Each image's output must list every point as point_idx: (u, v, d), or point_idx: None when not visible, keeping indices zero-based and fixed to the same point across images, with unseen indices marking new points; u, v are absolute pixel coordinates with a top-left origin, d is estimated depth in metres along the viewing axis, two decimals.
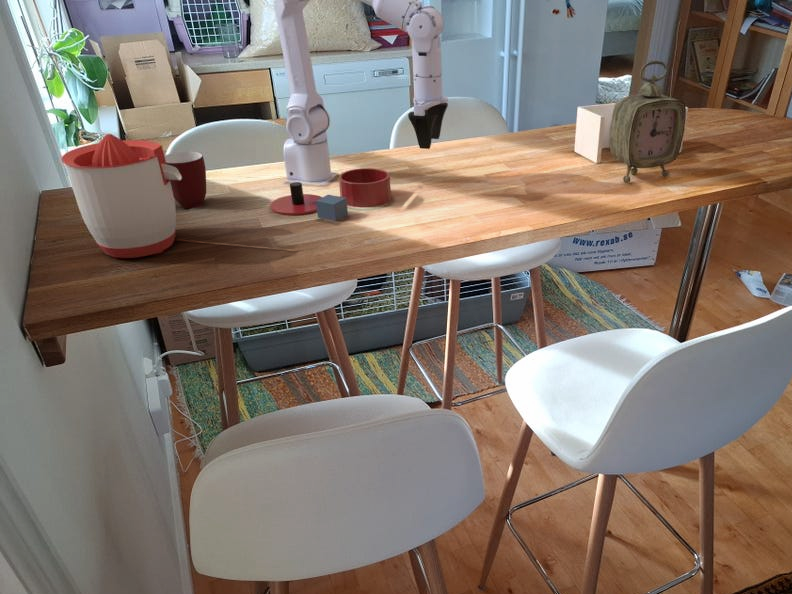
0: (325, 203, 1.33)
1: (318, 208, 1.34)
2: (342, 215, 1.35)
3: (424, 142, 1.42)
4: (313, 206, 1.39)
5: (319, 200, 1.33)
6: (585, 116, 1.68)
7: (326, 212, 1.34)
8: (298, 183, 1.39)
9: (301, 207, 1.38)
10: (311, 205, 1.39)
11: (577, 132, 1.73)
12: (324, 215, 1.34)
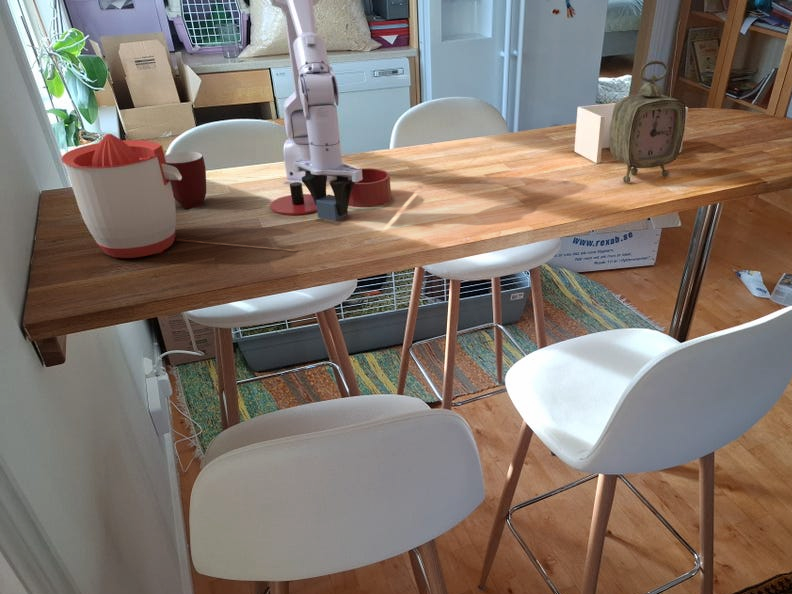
0: (326, 203, 1.33)
1: (318, 208, 1.34)
2: (342, 215, 1.35)
3: None
4: (313, 206, 1.39)
5: (319, 200, 1.33)
6: (585, 116, 1.68)
7: (326, 212, 1.34)
8: (298, 183, 1.39)
9: (301, 207, 1.38)
10: (311, 205, 1.39)
11: (577, 132, 1.73)
12: (324, 215, 1.34)
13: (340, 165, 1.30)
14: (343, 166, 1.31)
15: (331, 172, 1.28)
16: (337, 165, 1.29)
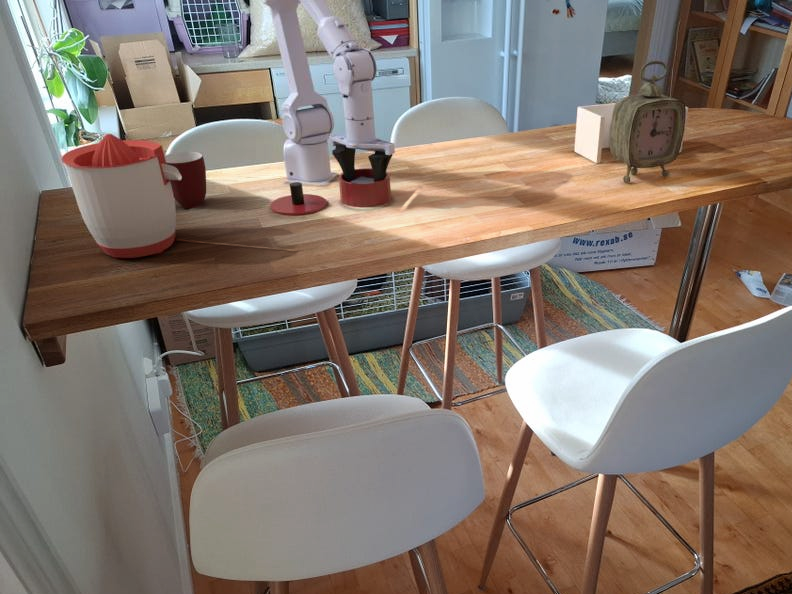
0: None
1: None
2: None
3: None
4: (313, 206, 1.39)
5: (353, 181, 1.42)
6: (585, 116, 1.68)
7: None
8: (298, 183, 1.39)
9: (301, 207, 1.38)
10: (311, 205, 1.39)
11: (577, 132, 1.73)
12: None
13: (373, 139, 1.37)
14: (376, 140, 1.38)
15: (365, 145, 1.35)
16: (371, 139, 1.36)
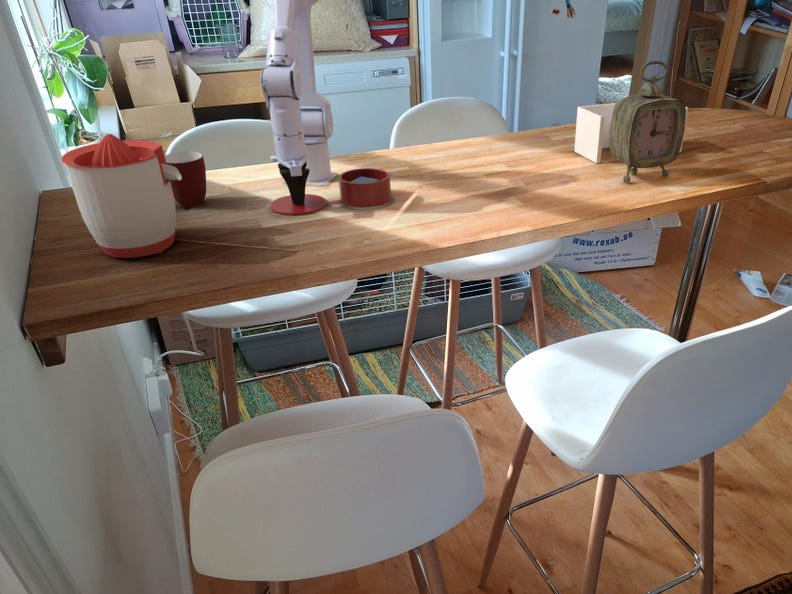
0: None
1: None
2: None
3: None
4: (313, 206, 1.39)
5: (353, 181, 1.42)
6: (585, 116, 1.68)
7: None
8: None
9: (301, 207, 1.38)
10: (311, 205, 1.39)
11: (577, 132, 1.73)
12: None
13: (295, 157, 1.33)
14: (300, 159, 1.34)
15: (281, 162, 1.33)
16: (290, 157, 1.33)
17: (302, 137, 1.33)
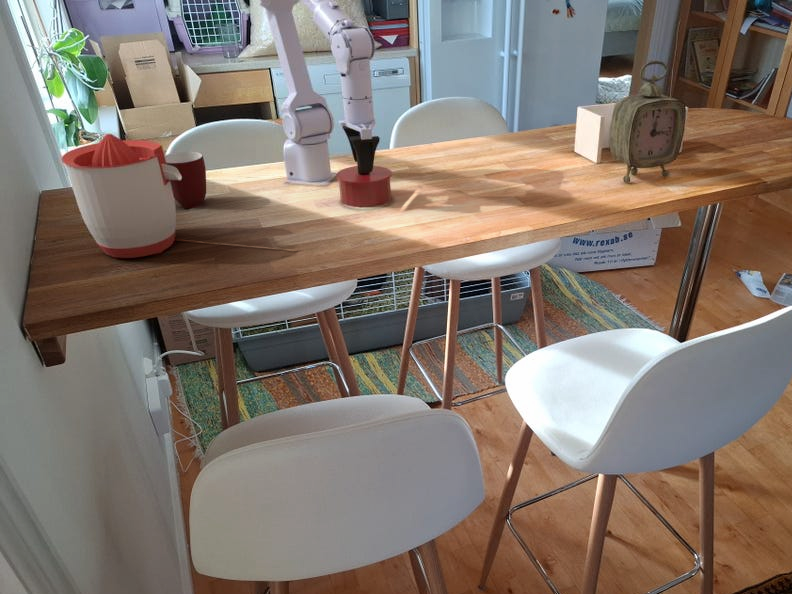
0: None
1: None
2: None
3: None
4: (379, 176, 1.40)
5: None
6: (585, 116, 1.68)
7: None
8: None
9: (368, 177, 1.40)
10: (377, 175, 1.41)
11: (577, 132, 1.73)
12: None
13: (364, 121, 1.34)
14: (369, 123, 1.34)
15: (350, 125, 1.33)
16: (359, 121, 1.33)
17: (371, 101, 1.33)
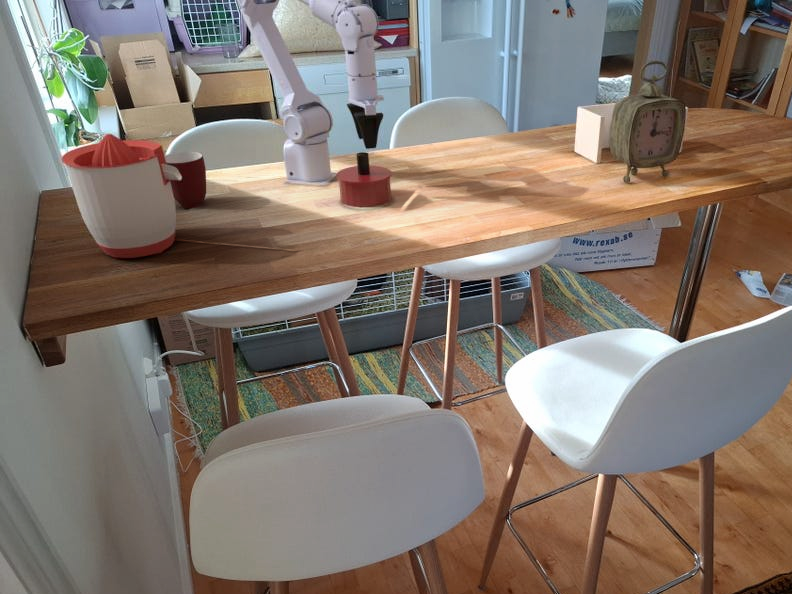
0: None
1: None
2: None
3: (371, 142, 1.40)
4: (379, 176, 1.40)
5: None
6: (585, 116, 1.68)
7: None
8: (365, 153, 1.40)
9: (368, 177, 1.40)
10: (377, 175, 1.41)
11: (577, 132, 1.73)
12: None
13: None
14: None
15: None
16: None
17: None
